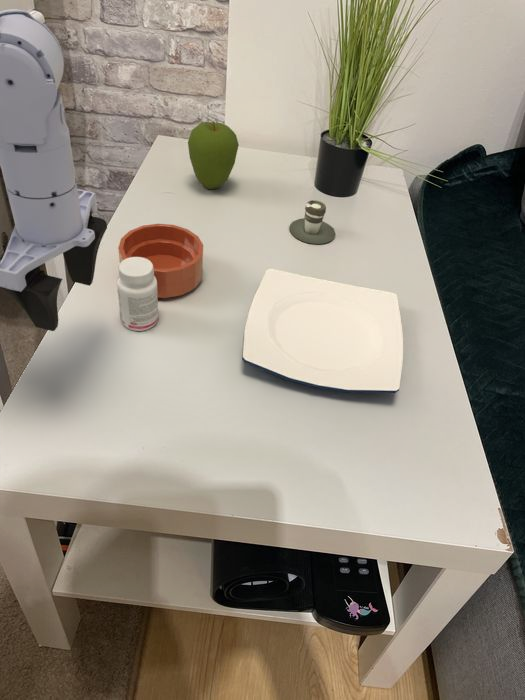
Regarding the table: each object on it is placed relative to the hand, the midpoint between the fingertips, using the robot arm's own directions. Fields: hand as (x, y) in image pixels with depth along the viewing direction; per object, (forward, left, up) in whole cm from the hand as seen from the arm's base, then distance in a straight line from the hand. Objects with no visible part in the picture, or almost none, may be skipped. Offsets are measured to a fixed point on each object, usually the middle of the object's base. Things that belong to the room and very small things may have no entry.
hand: (65, 303), depth 54 cm
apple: (+14, +45, -10) cm, 48 cm away
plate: (+30, +7, -10) cm, 32 cm away
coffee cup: (+31, +33, -10) cm, 46 cm away
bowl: (+8, +18, -9) cm, 22 cm away
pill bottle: (+6, +9, -10) cm, 14 cm away
